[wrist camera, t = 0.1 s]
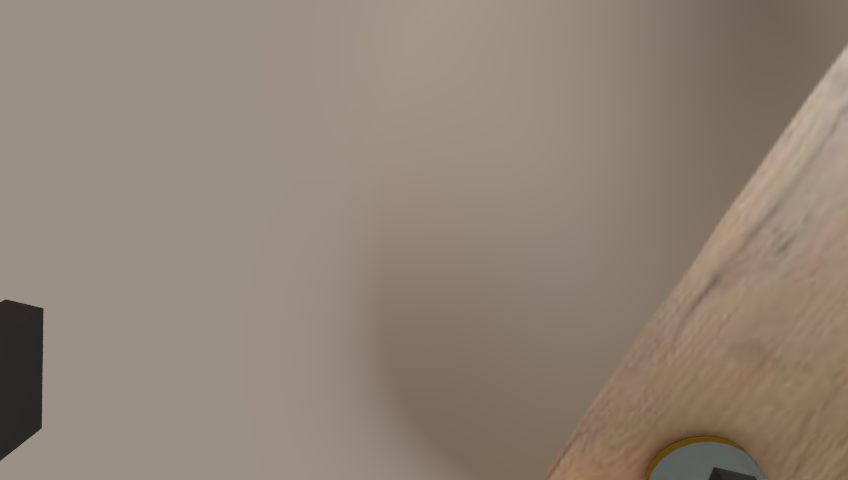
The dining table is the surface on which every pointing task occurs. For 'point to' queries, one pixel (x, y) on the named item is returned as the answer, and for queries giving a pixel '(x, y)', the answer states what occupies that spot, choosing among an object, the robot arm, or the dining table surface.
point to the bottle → (701, 460)
